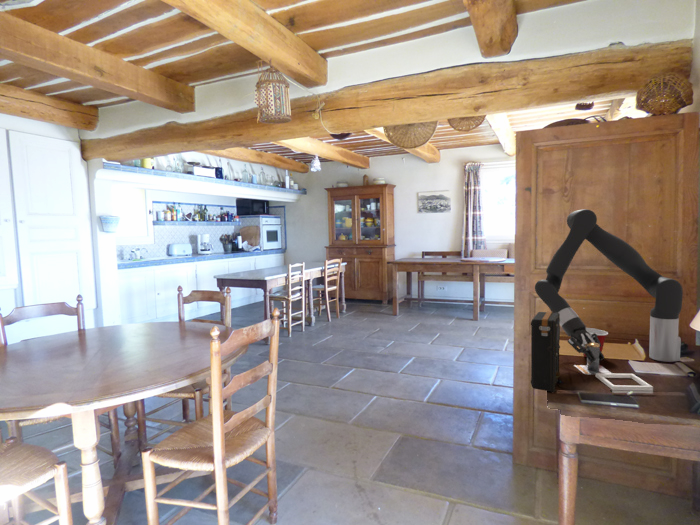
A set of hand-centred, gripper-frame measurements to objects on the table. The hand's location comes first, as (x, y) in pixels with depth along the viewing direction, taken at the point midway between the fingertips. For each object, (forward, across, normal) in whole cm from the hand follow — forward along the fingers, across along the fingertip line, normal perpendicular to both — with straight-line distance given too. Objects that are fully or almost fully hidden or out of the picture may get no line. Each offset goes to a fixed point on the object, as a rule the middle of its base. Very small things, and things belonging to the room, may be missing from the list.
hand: (598, 359), depth 155 cm
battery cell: (+2, 0, +4) cm, 5 cm away
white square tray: (+12, -3, -4) cm, 13 cm away
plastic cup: (-5, +14, +13) cm, 20 cm away
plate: (+2, 0, +5) cm, 6 cm away
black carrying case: (+3, -25, +5) cm, 25 cm away
